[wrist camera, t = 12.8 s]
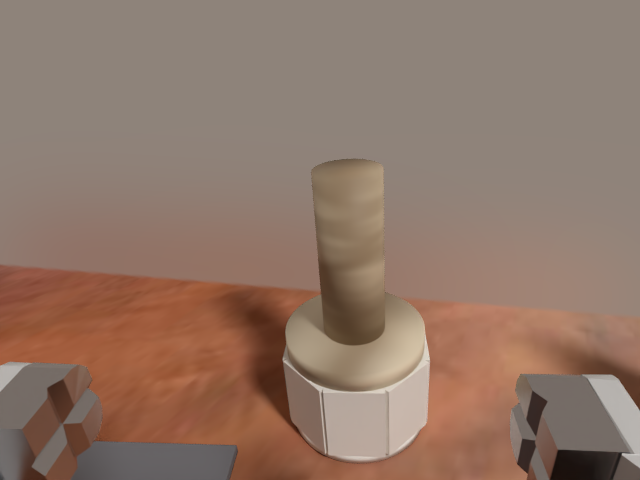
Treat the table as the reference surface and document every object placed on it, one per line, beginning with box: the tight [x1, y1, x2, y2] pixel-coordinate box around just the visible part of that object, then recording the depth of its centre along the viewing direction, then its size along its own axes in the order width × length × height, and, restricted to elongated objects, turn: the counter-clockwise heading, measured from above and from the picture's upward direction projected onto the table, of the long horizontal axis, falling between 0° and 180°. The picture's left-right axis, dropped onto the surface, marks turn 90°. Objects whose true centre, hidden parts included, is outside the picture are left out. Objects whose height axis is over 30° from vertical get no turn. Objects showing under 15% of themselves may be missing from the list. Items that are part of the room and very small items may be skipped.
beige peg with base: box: [285, 159, 425, 392], centre depth 21 cm, size 7×7×9 cm
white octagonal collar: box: [283, 336, 430, 464], centre depth 24 cm, size 7×7×4 cm
